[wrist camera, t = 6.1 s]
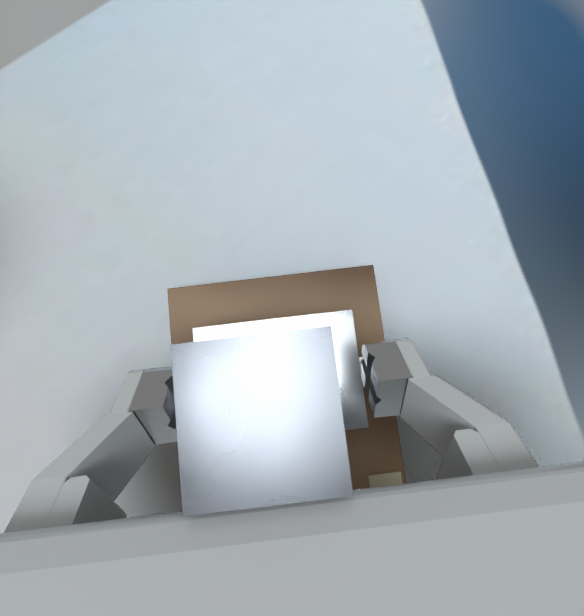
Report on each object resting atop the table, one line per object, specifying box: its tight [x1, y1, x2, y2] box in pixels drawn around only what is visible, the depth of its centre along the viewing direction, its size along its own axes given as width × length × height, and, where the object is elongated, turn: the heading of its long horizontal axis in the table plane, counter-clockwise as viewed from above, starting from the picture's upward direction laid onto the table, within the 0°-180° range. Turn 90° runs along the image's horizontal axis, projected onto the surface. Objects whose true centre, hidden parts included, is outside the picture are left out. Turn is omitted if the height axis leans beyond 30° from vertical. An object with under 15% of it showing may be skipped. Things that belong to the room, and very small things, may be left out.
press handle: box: [171, 310, 368, 517], centre depth 11 cm, size 5×8×10 cm, turn 97°
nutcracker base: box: [168, 265, 406, 490], centre depth 12 cm, size 26×11×9 cm, turn 7°
